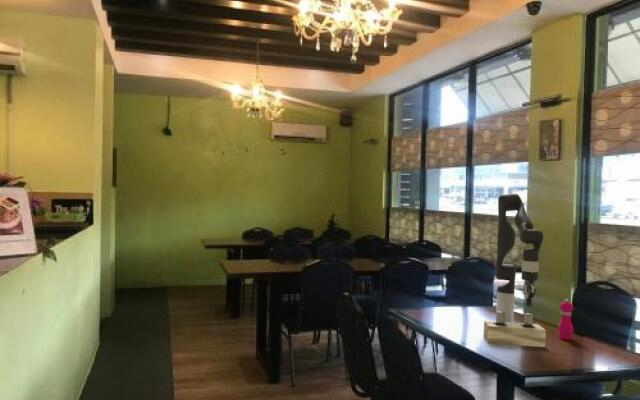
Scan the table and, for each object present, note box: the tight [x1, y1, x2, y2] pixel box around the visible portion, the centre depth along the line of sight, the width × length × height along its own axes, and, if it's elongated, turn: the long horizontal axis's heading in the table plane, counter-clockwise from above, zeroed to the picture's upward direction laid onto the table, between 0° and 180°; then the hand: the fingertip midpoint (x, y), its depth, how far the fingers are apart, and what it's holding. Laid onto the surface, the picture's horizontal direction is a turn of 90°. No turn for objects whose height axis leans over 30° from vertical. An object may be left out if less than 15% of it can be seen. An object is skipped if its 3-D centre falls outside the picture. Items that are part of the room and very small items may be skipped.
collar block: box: [483, 320, 547, 348], centre depth 248 cm, size 12×26×8 cm, turn 83°
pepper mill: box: [557, 298, 574, 341], centre depth 259 cm, size 7×7×20 cm
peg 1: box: [495, 311, 505, 325], centre depth 249 cm, size 4×4×8 cm
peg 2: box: [523, 312, 534, 327], centre depth 247 cm, size 4×4×8 cm
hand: (528, 305), depth 247 cm, fingers closed
